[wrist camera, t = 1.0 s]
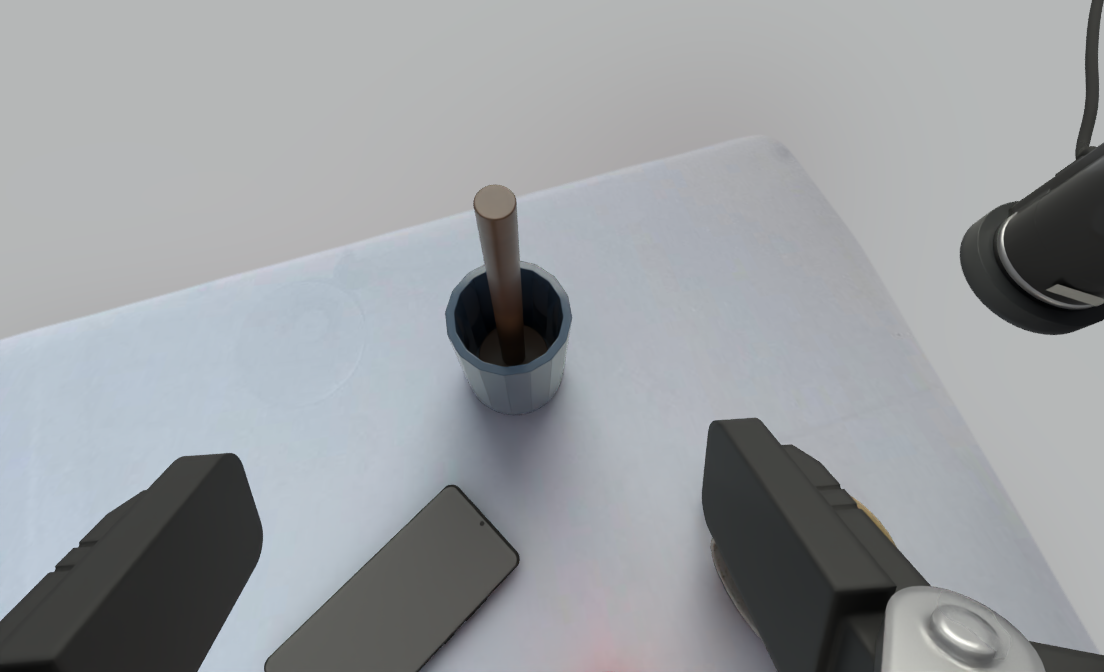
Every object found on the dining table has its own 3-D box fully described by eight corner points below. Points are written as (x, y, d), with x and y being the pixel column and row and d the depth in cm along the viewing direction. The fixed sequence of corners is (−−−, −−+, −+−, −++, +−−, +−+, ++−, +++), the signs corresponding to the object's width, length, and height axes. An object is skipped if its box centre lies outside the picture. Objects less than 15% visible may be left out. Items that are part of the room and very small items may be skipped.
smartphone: (258, 666, 31) (451, 479, 35) (265, 662, 32) (453, 481, 36) (329, 767, 29) (524, 560, 33) (335, 761, 30) (524, 559, 34)
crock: (482, 315, 40) (466, 248, 31) (571, 336, 40) (582, 274, 30) (455, 402, 38) (429, 357, 28) (550, 425, 37) (555, 387, 28)
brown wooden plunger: (492, 328, 39) (452, 138, 21) (554, 343, 39) (571, 164, 20) (473, 389, 37) (412, 242, 19) (539, 404, 37) (542, 271, 19)
